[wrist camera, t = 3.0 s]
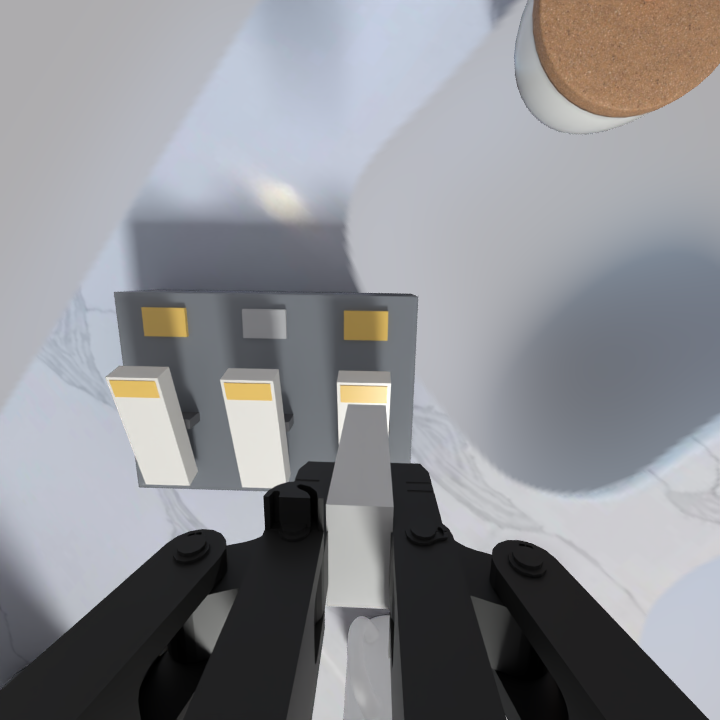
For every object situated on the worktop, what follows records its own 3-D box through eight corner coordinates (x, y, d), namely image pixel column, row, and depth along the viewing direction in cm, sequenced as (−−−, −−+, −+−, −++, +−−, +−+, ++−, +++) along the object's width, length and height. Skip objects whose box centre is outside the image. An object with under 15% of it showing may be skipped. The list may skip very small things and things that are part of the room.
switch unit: (172, 457, 34) (126, 498, 27) (155, 289, 30) (98, 292, 24) (403, 463, 33) (410, 507, 27) (410, 293, 30) (421, 297, 23)
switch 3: (341, 475, 27) (340, 490, 26) (338, 370, 23) (336, 382, 22) (384, 476, 27) (385, 492, 26) (390, 371, 23) (390, 384, 22)
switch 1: (156, 470, 28) (145, 484, 26) (119, 365, 23) (104, 377, 22) (198, 471, 28) (189, 486, 26) (168, 366, 23) (157, 378, 22)
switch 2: (248, 472, 28) (241, 487, 26) (228, 368, 23) (219, 380, 22) (290, 474, 27) (286, 489, 26) (278, 369, 23) (272, 381, 22)
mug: (318, 598, 37) (297, 720, 26) (394, 570, 36) (403, 685, 25) (369, 686, 39) (368, 830, 29) (442, 662, 38) (468, 801, 28)
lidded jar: (539, -45, 25) (637, -236, 16) (677, 27, 25) (849, -115, 16) (465, 119, 27) (513, 36, 18) (593, 181, 28) (704, 133, 18)
